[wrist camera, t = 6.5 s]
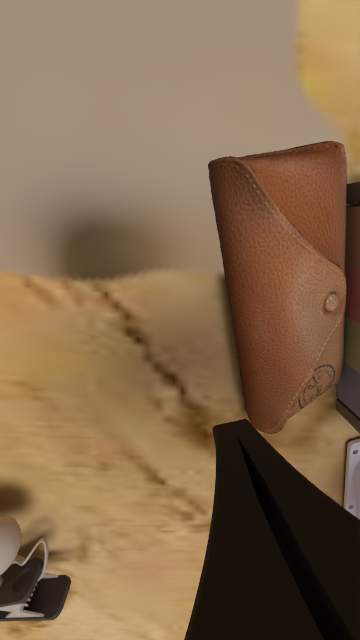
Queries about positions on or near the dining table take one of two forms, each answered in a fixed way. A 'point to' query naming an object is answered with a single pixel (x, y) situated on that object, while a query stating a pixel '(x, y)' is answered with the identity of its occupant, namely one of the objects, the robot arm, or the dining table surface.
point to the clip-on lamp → (27, 580)
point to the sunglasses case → (284, 273)
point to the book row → (351, 315)
